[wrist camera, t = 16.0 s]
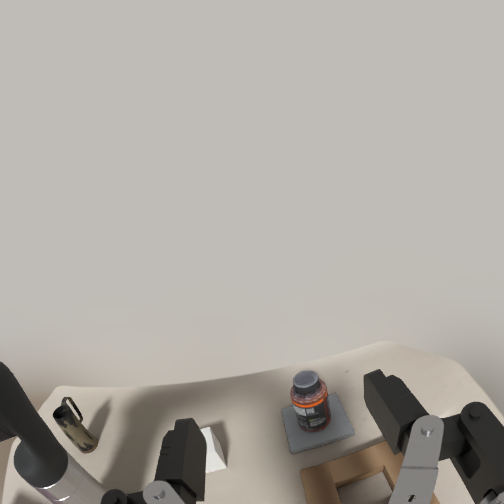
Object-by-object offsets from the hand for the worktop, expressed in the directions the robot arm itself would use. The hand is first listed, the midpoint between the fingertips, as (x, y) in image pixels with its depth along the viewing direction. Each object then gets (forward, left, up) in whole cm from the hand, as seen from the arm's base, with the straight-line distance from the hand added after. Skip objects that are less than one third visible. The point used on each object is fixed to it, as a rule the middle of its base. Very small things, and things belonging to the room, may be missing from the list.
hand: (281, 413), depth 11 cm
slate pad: (-10, +22, -32) cm, 40 cm away
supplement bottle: (-10, +22, -31) cm, 40 cm away
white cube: (-25, +8, -32) cm, 42 cm away
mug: (-53, -4, -32) cm, 62 cm away
